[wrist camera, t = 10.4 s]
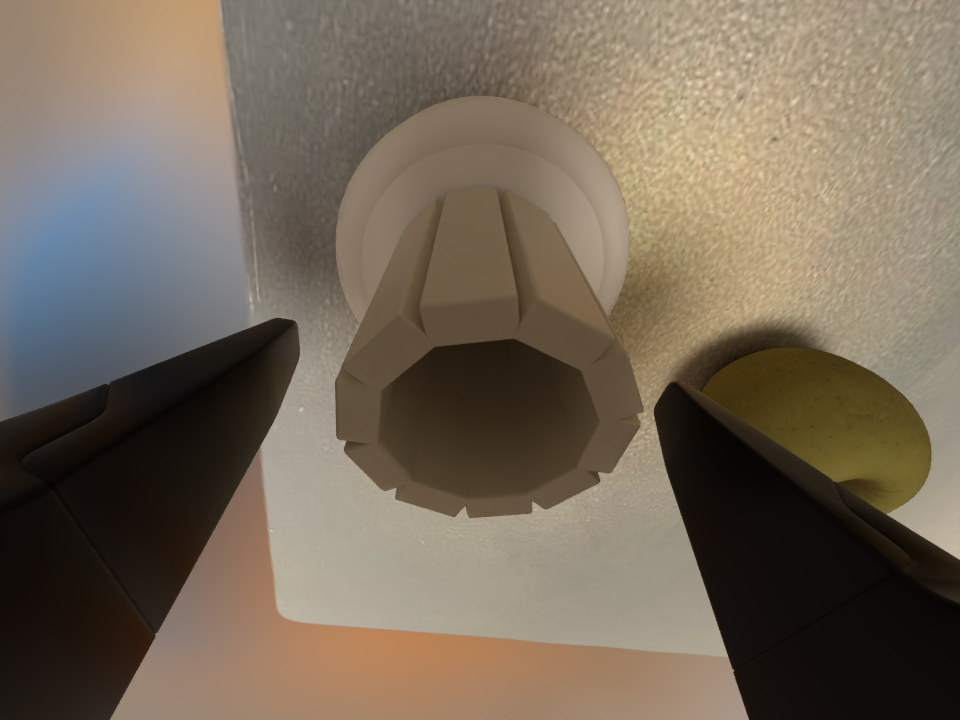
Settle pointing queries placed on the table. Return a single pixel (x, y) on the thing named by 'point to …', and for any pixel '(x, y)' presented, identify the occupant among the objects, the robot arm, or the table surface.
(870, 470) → the apple
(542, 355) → the fluted vase
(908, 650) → the robot arm
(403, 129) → the thick white disc
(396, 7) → the table surface
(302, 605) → the table surface
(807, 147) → the table surface
